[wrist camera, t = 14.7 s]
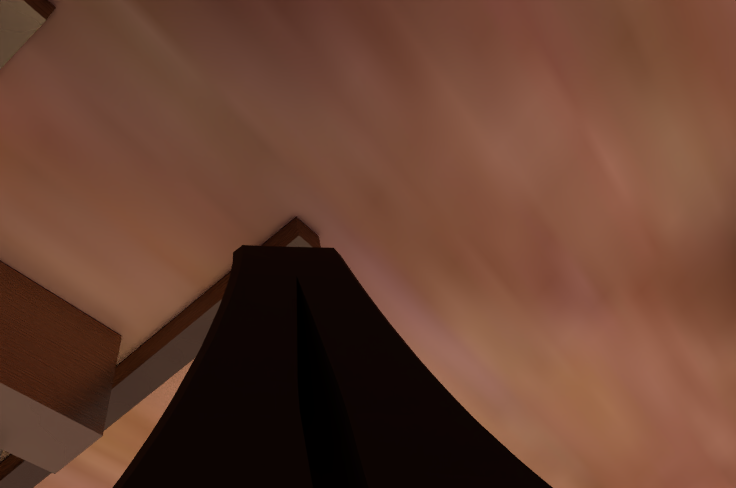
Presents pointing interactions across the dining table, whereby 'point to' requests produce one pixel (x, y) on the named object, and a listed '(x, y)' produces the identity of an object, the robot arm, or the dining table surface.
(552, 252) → the dining table surface
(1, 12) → the vise bed
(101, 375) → the block
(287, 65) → the dining table surface
